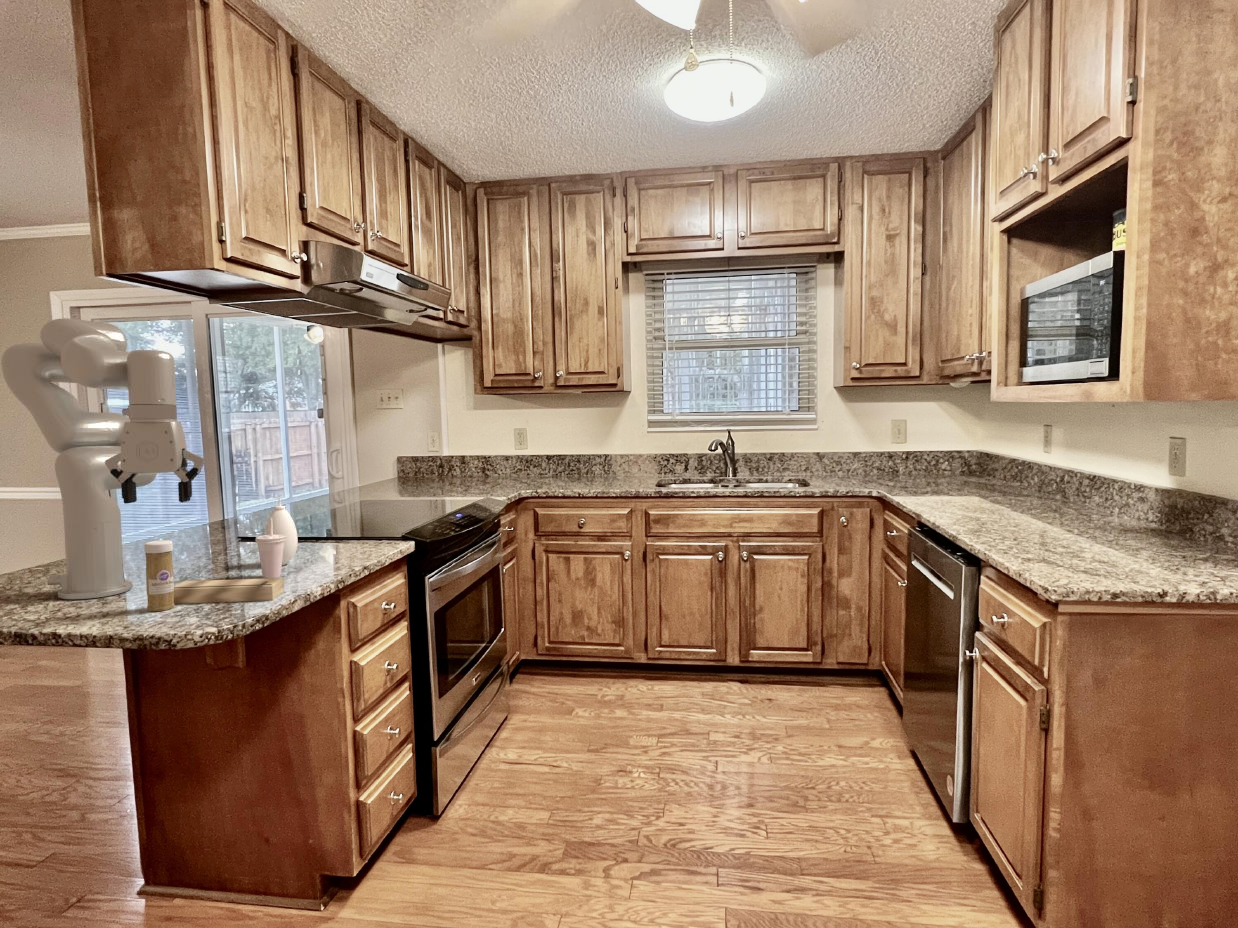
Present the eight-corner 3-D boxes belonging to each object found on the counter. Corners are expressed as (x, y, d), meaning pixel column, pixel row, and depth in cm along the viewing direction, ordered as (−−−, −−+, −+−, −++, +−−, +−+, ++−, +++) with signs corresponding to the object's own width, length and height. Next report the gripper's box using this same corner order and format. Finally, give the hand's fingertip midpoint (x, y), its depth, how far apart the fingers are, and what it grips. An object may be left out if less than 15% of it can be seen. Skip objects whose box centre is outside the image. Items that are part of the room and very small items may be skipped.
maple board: (166, 604, 132) (166, 589, 131) (183, 594, 139) (183, 580, 138) (272, 600, 135) (272, 585, 135) (284, 591, 142) (283, 577, 142)
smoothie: (290, 572, 159) (288, 516, 158) (281, 579, 153) (279, 520, 152) (262, 573, 158) (260, 516, 157) (252, 580, 152) (250, 520, 151)
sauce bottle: (262, 569, 163) (260, 498, 162) (265, 563, 170) (263, 494, 169) (297, 566, 166) (295, 496, 165) (298, 560, 173) (297, 493, 172)
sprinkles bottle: (157, 613, 126) (154, 544, 125) (141, 610, 127) (138, 542, 126) (180, 606, 130) (178, 540, 129) (165, 604, 132) (162, 538, 131)
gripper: (91, 414, 121) (96, 505, 122) (193, 414, 124) (197, 503, 125) (115, 415, 128) (119, 501, 129) (210, 415, 131) (214, 499, 132)
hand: (157, 502), depth 127 cm, fingers open, 9 cm apart
